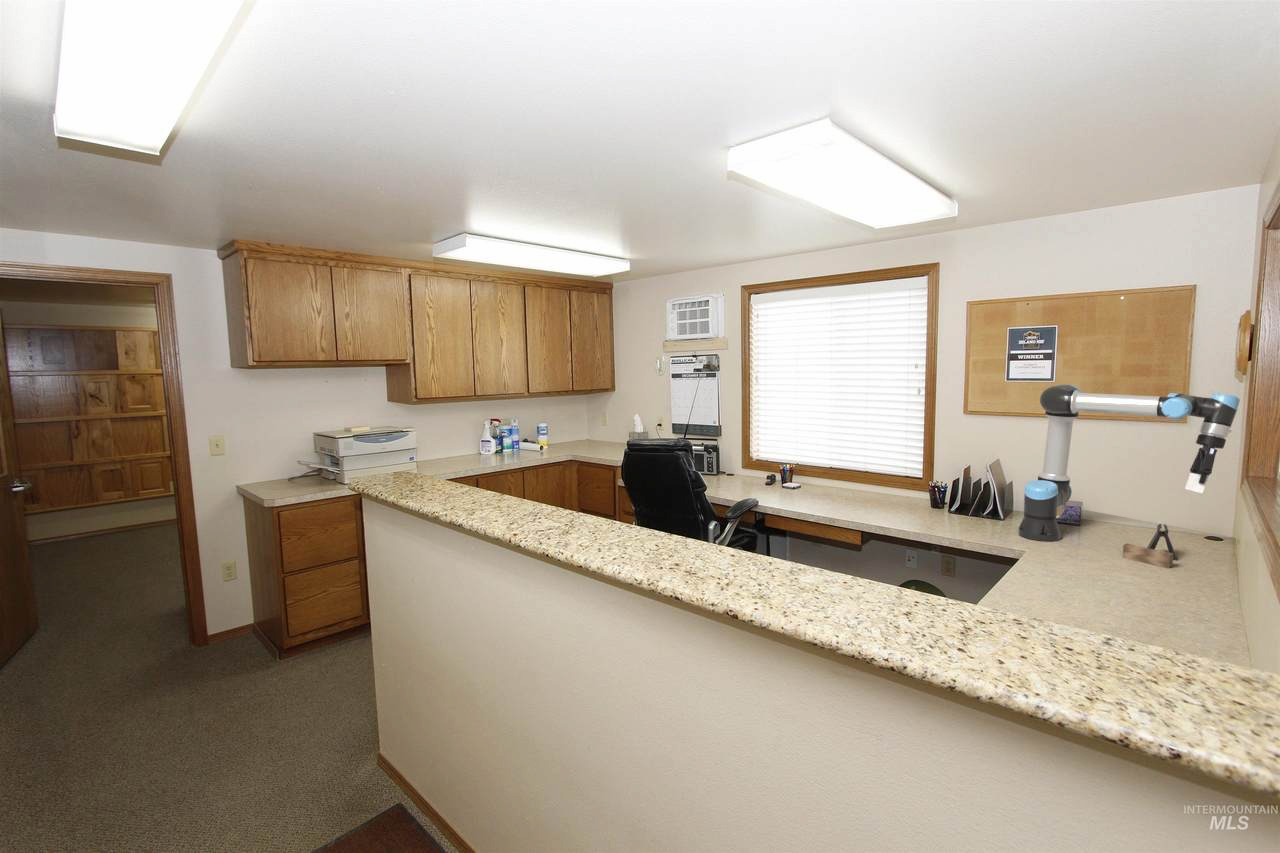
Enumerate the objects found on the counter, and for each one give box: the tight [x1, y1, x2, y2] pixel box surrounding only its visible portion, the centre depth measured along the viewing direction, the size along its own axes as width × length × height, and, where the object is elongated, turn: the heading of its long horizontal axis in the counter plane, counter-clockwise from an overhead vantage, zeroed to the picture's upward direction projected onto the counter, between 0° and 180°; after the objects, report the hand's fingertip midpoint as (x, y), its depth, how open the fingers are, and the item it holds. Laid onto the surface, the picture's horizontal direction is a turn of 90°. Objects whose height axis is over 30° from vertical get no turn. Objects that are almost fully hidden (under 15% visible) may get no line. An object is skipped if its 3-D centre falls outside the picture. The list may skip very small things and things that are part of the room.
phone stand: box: [1146, 523, 1178, 561], centre depth 223 cm, size 9×6×12 cm, turn 50°
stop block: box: [1122, 543, 1174, 569], centre depth 218 cm, size 14×3×5 cm, turn 29°
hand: (1193, 491), depth 217 cm, fingers open, 13 cm apart
